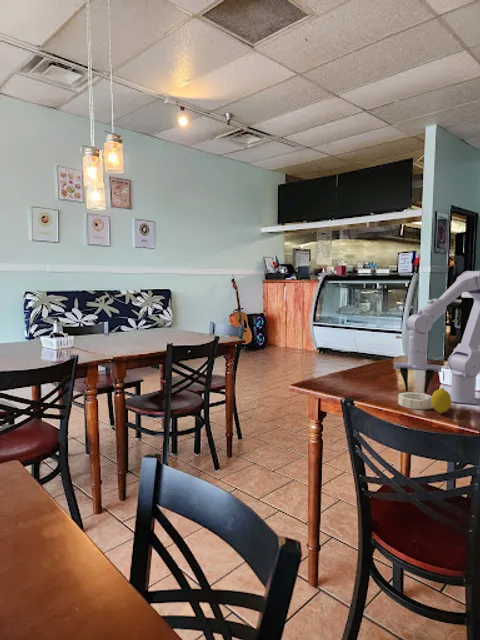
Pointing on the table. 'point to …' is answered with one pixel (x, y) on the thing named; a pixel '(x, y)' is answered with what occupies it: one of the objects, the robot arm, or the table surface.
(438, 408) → the lemon
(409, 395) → the ring dish
